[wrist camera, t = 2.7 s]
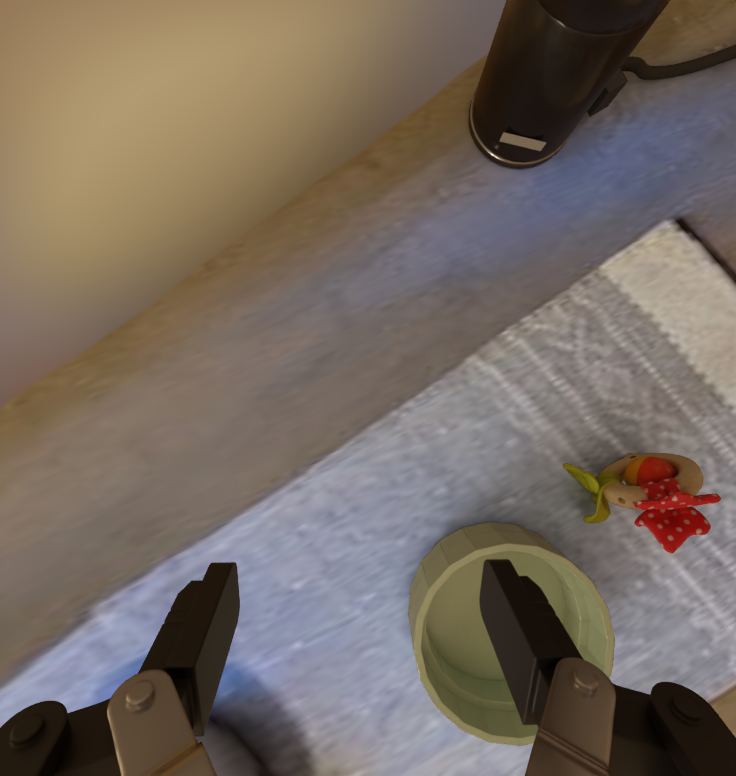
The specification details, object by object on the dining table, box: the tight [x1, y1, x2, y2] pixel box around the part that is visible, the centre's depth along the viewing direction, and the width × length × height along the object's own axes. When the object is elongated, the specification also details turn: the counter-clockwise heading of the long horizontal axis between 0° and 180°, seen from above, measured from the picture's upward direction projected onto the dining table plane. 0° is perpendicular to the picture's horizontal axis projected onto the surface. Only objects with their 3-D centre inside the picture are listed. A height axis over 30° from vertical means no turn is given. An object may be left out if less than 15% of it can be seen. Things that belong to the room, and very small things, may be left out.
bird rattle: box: [563, 453, 721, 553], centre depth 33 cm, size 6×11×9 cm
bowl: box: [408, 522, 615, 746], centre depth 35 cm, size 15×15×6 cm
